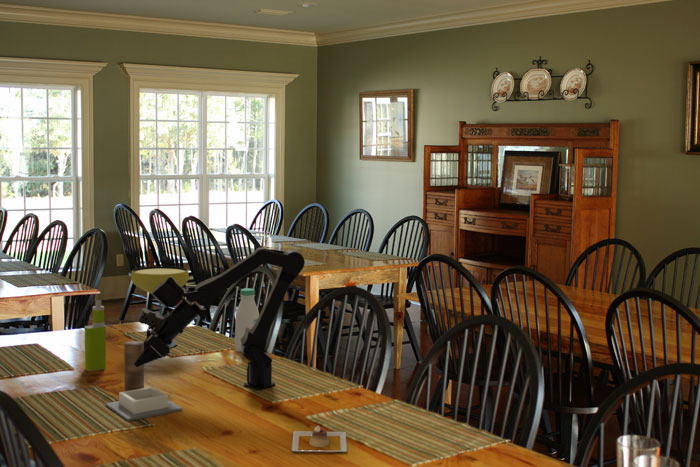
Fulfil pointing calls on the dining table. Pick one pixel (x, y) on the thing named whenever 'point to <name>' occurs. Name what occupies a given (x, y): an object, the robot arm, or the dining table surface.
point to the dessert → (318, 439)
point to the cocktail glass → (158, 278)
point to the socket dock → (142, 404)
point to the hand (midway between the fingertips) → (135, 361)
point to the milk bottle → (245, 315)
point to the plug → (131, 372)
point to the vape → (96, 340)
